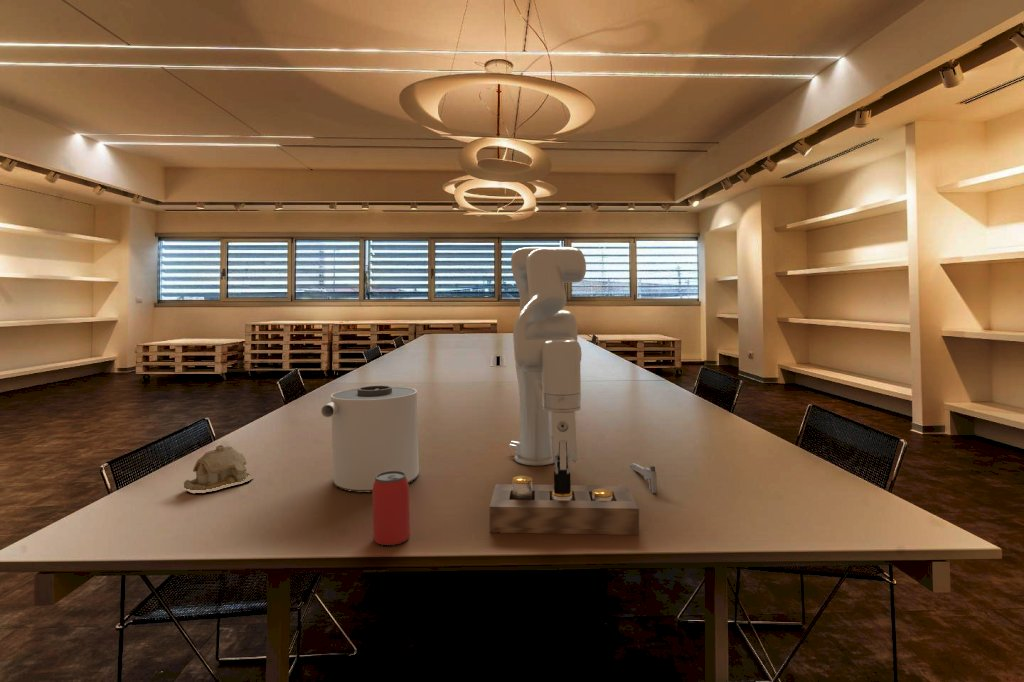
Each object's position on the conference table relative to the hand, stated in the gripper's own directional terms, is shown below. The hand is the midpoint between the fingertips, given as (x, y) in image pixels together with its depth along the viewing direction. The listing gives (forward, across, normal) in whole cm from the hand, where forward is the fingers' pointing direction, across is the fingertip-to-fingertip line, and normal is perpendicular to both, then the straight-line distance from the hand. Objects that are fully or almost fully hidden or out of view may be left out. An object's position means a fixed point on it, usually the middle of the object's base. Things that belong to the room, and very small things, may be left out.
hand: (562, 492), depth 95 cm
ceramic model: (+6, +18, +84) cm, 86 cm away
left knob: (+2, 0, +8) cm, 8 cm away
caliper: (+6, +25, -21) cm, 33 cm away
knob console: (+6, 0, 0) cm, 6 cm away
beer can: (+6, -9, +32) cm, 34 cm away
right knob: (+5, 0, -8) cm, 9 cm away
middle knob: (+5, 0, 0) cm, 5 cm away
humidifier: (+6, +22, +48) cm, 53 cm away
